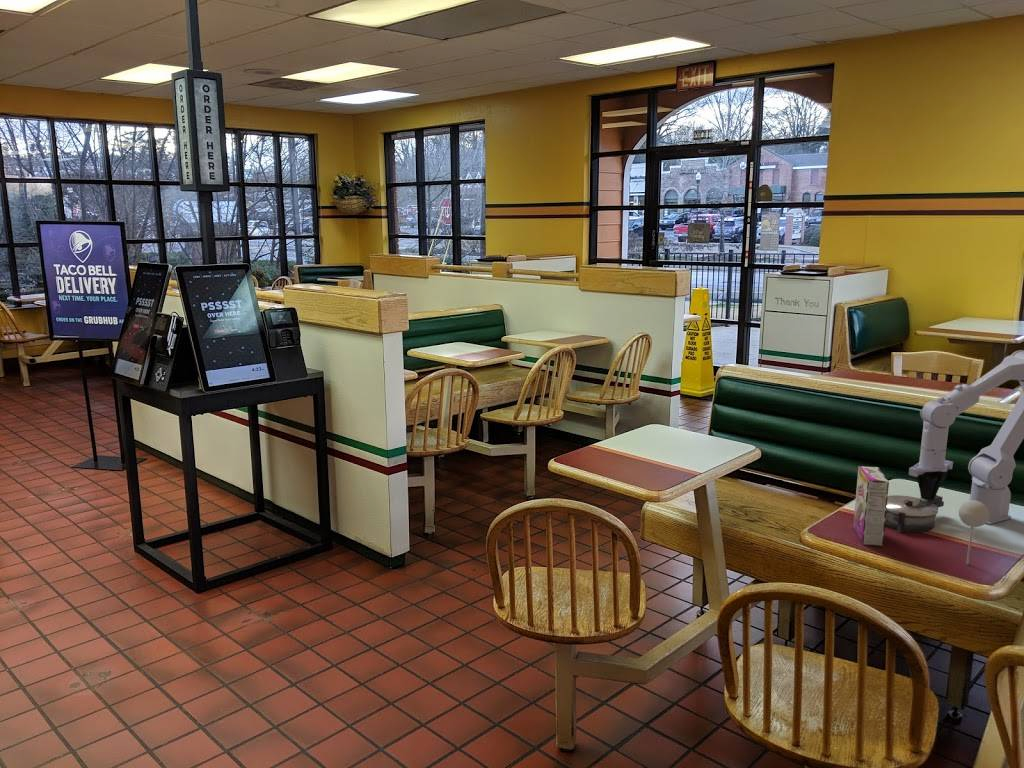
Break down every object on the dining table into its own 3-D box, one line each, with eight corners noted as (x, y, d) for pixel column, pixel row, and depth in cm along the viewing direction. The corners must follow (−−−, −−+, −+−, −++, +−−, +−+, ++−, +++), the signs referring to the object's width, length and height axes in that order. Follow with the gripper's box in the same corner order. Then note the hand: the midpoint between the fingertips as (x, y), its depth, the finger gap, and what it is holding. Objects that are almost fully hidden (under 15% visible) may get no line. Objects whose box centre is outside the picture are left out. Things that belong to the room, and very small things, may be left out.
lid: (914, 492, 215) (915, 486, 215) (962, 508, 204) (963, 502, 203) (867, 503, 207) (867, 497, 207) (914, 521, 195) (914, 514, 195)
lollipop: (958, 556, 185) (966, 494, 182) (986, 564, 180) (995, 501, 177) (947, 563, 181) (955, 500, 178) (976, 572, 176) (984, 508, 173)
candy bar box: (851, 527, 202) (857, 465, 198) (872, 529, 201) (879, 466, 197) (861, 545, 191) (867, 479, 187) (883, 547, 190) (890, 481, 186)
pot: (915, 506, 216) (917, 488, 215) (961, 522, 205) (963, 503, 204) (864, 518, 207) (866, 500, 206) (909, 536, 196) (911, 517, 195)
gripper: (929, 456, 198) (923, 508, 201) (966, 448, 204) (959, 499, 207) (903, 448, 204) (898, 499, 207) (940, 441, 210) (934, 490, 213)
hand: (927, 498), depth 207 cm, fingers closed on lid
